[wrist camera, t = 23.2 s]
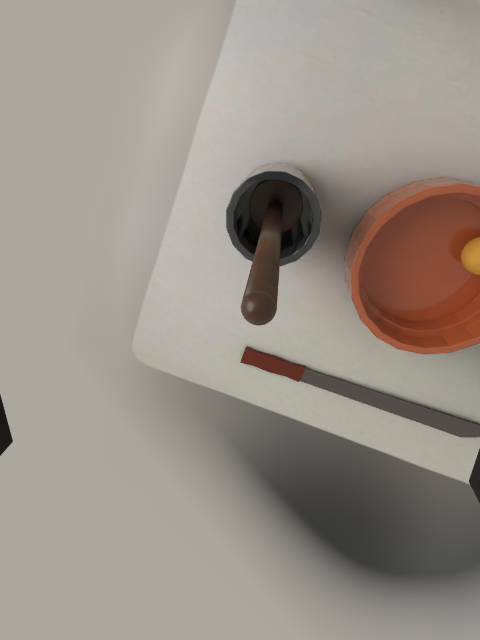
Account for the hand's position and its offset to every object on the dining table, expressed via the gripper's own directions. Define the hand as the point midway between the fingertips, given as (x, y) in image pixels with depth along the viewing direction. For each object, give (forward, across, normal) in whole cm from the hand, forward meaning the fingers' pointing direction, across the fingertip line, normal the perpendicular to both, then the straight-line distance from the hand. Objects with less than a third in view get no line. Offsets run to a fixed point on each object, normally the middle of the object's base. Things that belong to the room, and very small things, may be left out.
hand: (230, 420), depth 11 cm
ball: (+36, +22, -5) cm, 42 cm away
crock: (+39, 0, 0) cm, 39 cm away
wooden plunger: (+38, 0, 0) cm, 38 cm away
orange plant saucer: (+39, +17, -6) cm, 43 cm away
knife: (+39, +14, -25) cm, 48 cm away
